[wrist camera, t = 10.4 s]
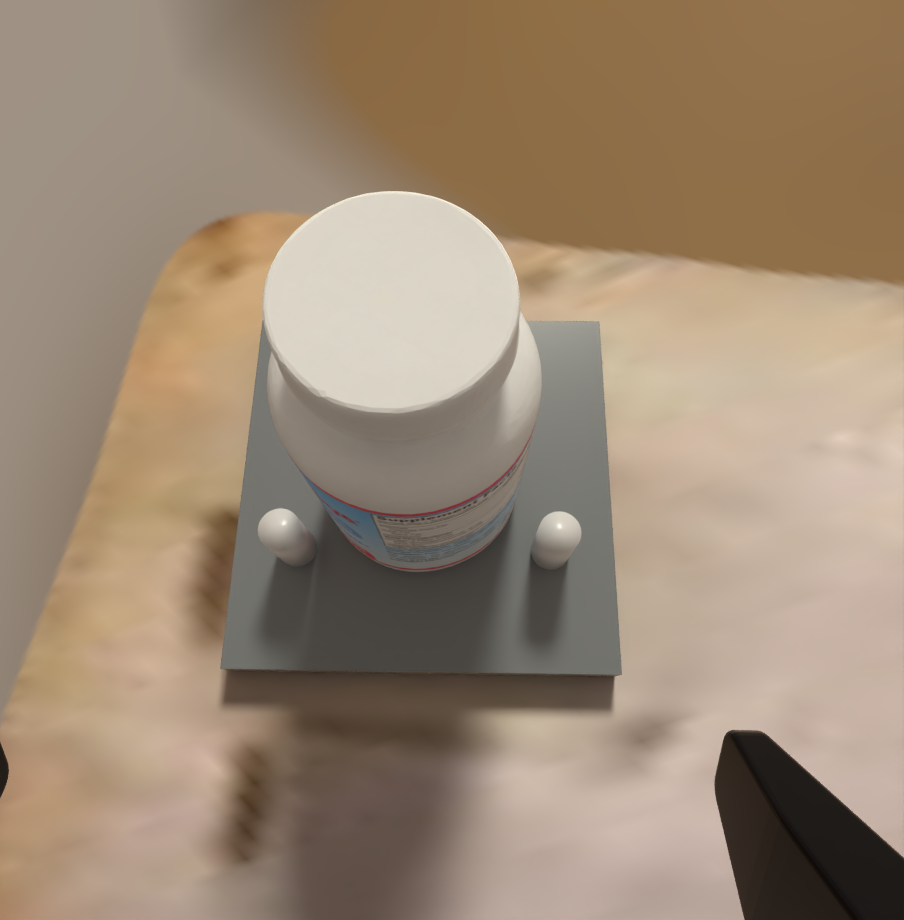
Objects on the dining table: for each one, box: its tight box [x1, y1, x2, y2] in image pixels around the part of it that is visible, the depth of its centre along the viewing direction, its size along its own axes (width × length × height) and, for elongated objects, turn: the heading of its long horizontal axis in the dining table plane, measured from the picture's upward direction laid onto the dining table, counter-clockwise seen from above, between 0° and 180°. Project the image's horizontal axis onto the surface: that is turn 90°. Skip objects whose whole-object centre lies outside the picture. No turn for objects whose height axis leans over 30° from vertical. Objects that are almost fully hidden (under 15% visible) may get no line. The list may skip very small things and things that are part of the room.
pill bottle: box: [263, 191, 542, 572], centre depth 18 cm, size 6×6×11 cm
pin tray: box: [220, 321, 622, 676], centre depth 22 cm, size 12×12×4 cm
